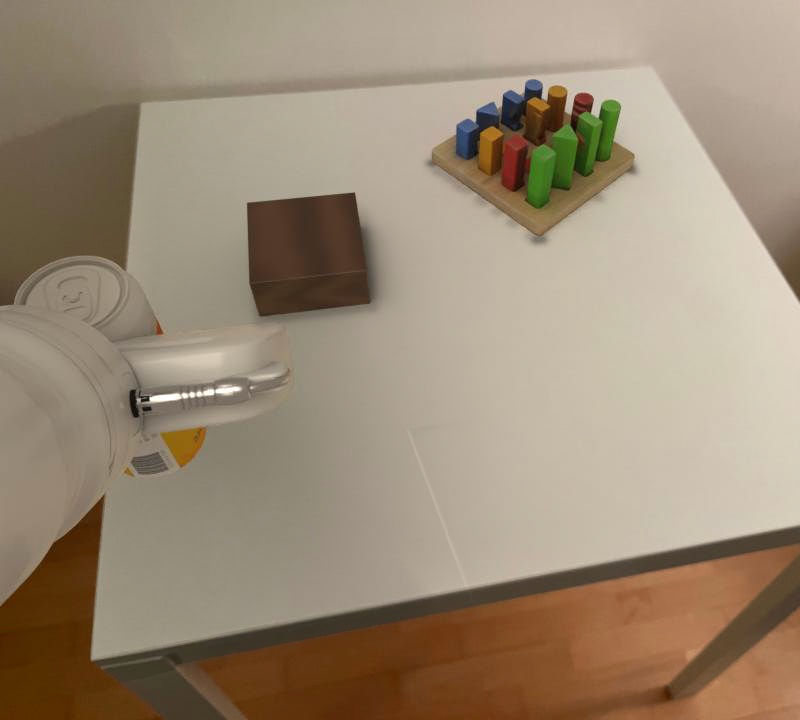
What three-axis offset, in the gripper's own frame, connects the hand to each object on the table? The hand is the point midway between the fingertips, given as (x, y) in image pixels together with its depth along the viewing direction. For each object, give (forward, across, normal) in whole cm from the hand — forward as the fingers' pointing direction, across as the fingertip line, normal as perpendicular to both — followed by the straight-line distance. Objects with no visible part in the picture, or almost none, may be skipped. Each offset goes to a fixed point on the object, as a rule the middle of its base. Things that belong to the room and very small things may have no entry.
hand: (118, 361), depth 42 cm
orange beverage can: (+6, 0, +6) cm, 9 cm away
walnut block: (+35, -10, -2) cm, 36 cm away
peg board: (+44, -37, -12) cm, 59 cm away
